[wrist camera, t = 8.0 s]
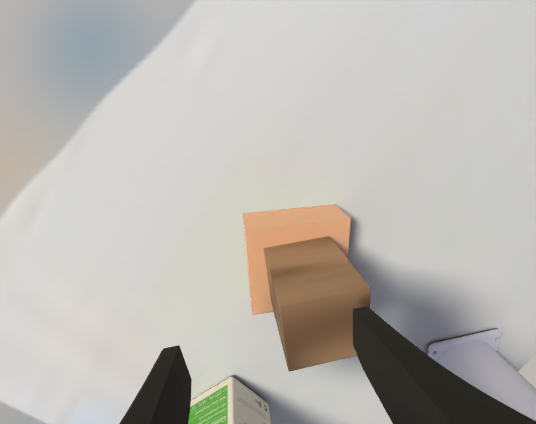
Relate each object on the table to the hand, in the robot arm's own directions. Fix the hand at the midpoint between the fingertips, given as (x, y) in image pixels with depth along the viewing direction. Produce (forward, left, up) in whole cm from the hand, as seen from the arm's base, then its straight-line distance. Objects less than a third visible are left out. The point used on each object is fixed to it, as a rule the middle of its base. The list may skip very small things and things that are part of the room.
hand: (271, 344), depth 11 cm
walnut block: (-2, -3, -7) cm, 8 cm away
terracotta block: (-2, -3, -10) cm, 11 cm away
